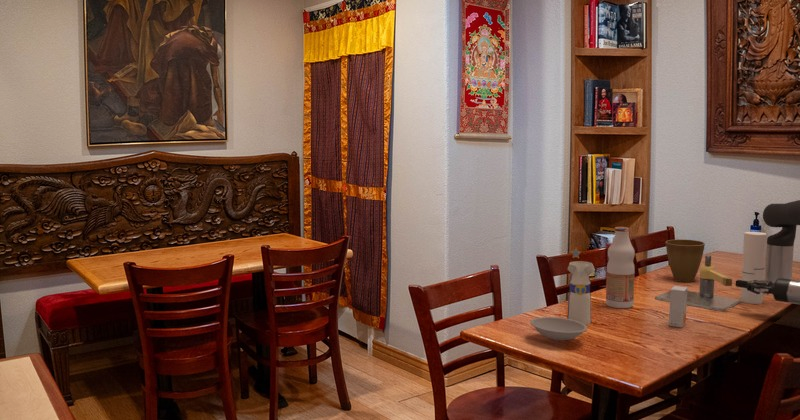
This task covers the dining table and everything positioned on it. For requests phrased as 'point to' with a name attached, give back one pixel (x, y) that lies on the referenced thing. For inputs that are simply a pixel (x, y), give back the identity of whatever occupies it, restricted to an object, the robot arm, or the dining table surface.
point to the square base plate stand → (705, 295)
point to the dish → (558, 327)
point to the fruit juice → (620, 271)
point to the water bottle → (580, 290)
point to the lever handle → (714, 275)
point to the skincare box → (678, 306)
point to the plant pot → (684, 258)
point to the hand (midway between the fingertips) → (736, 283)
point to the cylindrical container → (753, 264)
